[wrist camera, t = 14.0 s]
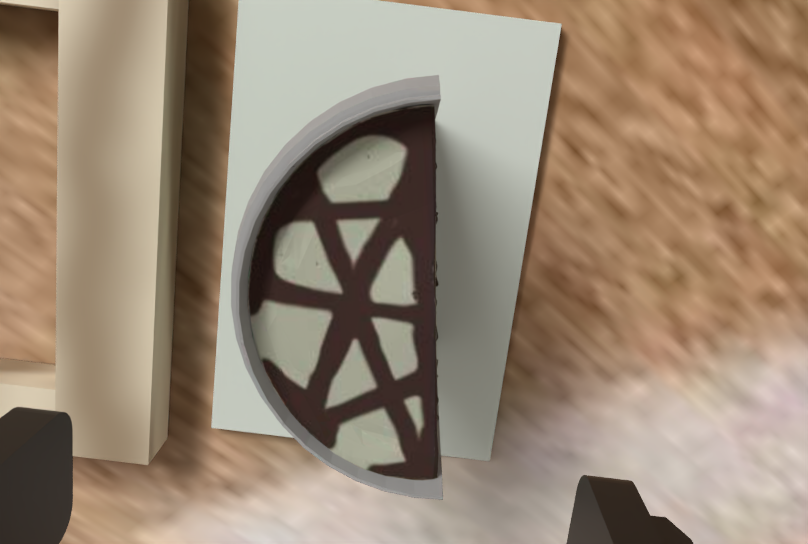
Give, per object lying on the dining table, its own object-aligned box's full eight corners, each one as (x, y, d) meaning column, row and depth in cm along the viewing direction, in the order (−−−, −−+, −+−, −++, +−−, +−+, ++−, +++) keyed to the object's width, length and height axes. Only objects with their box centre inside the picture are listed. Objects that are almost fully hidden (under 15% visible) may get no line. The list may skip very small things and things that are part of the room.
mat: (559, 24, 28) (561, 23, 28) (488, 455, 33) (489, 461, 32) (242, -15, 28) (239, -17, 28) (214, 422, 32) (211, 427, 32)
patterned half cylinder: (271, 81, 28) (195, 78, 19) (433, 77, 28) (441, 73, 19) (289, 383, 31) (230, 517, 22) (436, 383, 31) (443, 516, 22)
